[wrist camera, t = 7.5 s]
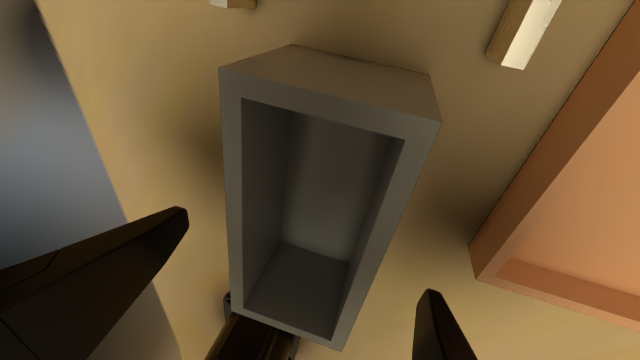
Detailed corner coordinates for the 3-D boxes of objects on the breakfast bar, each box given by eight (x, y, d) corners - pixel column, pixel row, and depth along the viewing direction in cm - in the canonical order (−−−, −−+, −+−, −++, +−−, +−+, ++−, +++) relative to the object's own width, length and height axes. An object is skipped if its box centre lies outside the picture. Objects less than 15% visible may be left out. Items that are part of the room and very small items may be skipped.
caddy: (358, 265, 16) (341, 352, 12) (274, 237, 17) (231, 310, 13) (429, 75, 10) (442, 122, 6) (290, 44, 11) (218, 67, 7)
